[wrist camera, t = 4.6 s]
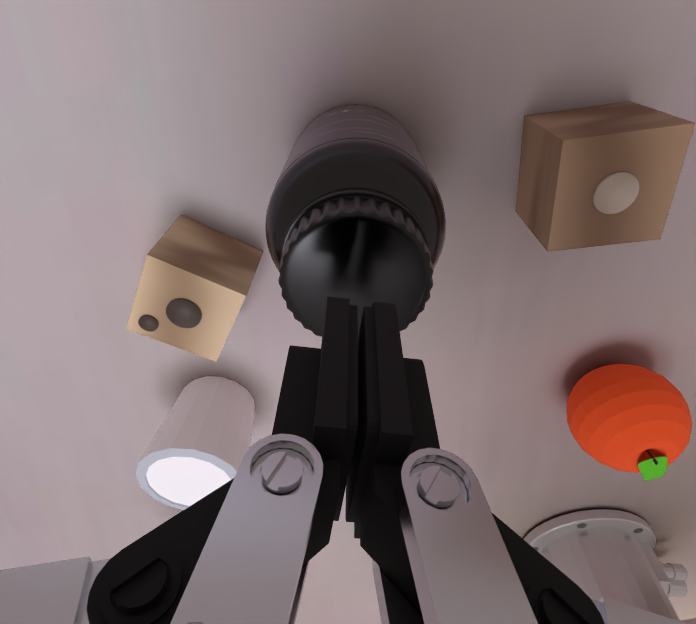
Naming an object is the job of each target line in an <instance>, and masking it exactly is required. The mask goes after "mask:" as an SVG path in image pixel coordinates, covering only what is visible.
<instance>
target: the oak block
mask: <svg viewBox="0 0 696 624" xmlns="http://www.w3.org/2000/svg"><path fill="white" fill-rule="evenodd" d="M262 253H263V251H261V250H259V249H256V248H254V247H252V246H250V245H247V244H245V243H243V242H241V241H238V240H236V239H234V238H232V237H230V236H227V235H225V234H223V233H221V232H218V231H216V230H214V229H212V228H209V227H207V226H205V225H203V224H201V223H198V222H196V221H194V220H192V219H189V218H187V217H185V216H183V215H180V217H179V218H178V219H177V220H176V221H175V222H174V224H173V225H172V226H171V227H170V228H169V229H168V231H167V232H166V233H165V234H164V235H163V236H162V238H161V239H160V240H159V241H158V242H157V243H156V245H155V246H154V247H153V248H152V249H151V250H150V252H149V253H148V254H147V256H146V260H145V263H144V267H143V270H142V274H141V278H140V281H139V285H138V288H137V292H136V295H135V299H134V303H133V306H132V310H131V313H130V317H129V321H128V324H127V328H126V329H129V330H131V331H134V332H137V333H139V334H142V335H145V336H148V337H150V338H153V339H156V340H158V341H161V342H164V343H167V344H169V345H172V346H175V347H177V348H180V349H183V350H186V351H188V352H191V353H194V354H196V355H199V356H202V357H204V358H207V359H210V360H213V361H215V362H216V361H217V359H218V357H219V354H220V352H221V350H222V348H223V346H224V343H225V341H226V339H227V337H228V335H229V332H230V330H231V328H232V326H233V324H234V321H235V319H236V317H237V315H238V313H239V310H240V308H241V306H242V304H243V302H244V300H245V297H246V295H247V292H248V290H249V287H250V285H251V282H252V279H253V277H254V274H255V272H256V269H257V266H258V264H259V261H260V259H261V256H262Z"/></svg>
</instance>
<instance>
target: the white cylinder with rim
mask: <svg viewBox="0 0 696 624" xmlns="http://www.w3.org/2000/svg"><path fill="white" fill-rule="evenodd" d="M254 413H255V405H254V399H253V397H252V396H251V394H250V393H249V391H248V390H247V389H246V388H244V387H243V386H241V385H240V384H239V383H237V382H235V381H232V380H229V379H226V378H224V377H214V376H205V377H202V378H198V379H194V380H193V381H191V382H190V383H189V384H188V385H186V386H185V387H184V389H183V390H182V392H181V394H180V395H179V397H178V399H177V400H176V402H175V404H174V405H173V407H172V409H171V410H170V412H169V413H168V415H167V417H166V418H165V420H164V422H163V423H162V425H161V427H160V428H159V430H158V432H157V433H156V435H155V436H154V438H153V440H152V441H151V443H150V445H149V446H148V448H147V450H146V451H145V453H144V455H143V456H142V458H141V460H140V461H139V464H138V467H137V470H136V473H135V474H136V477H137V479H138V482H139V485H140V487H142V488H143V489H144V490H145V491H146V492H147V493H148V494H149V495H150V496H151V497H152V498H154V499H156V500H158V501H160V502H162V503H164V504H166V505H168V506H170V507H174V508H178V509H182V510H185V509H186V508H188V507H190V506H191V505H193V504H194V503H196V502H197V501H199V500H200V499H202V498H204V497H205V496H207V495H208V494H210V493H211V492H213V491H214V490H216V489H218V488H219V487H221V486H222V485H224V484H225V483H227V482H229V481H230V480H232V479H233V478H234V477H235V475H236V473H237V471H238V468H239V466H240V464H241V462H242V459H243V457H244V456H245V454H246V453H247V451H248V450H249V448H250V443H251V436H252V428H253V421H254Z"/></svg>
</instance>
